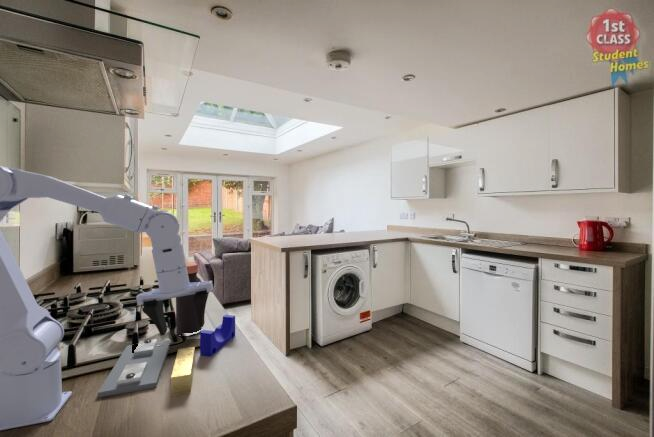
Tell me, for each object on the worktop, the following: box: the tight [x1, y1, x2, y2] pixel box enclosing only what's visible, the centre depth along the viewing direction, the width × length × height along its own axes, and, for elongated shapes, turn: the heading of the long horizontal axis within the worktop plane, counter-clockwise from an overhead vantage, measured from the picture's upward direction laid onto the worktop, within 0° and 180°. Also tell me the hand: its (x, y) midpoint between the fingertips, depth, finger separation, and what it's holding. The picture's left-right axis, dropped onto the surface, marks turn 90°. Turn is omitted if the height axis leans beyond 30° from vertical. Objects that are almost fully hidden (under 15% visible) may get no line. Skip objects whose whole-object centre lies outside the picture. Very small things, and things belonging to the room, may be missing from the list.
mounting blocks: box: [117, 338, 158, 386], centre depth 68 cm, size 4×18×1 cm, turn 20°
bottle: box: [175, 262, 203, 336], centre depth 86 cm, size 7×7×20 cm
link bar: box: [170, 346, 196, 397], centre depth 64 cm, size 4×12×4 cm, turn 20°
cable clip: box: [199, 314, 236, 357], centre depth 79 cm, size 12×4×6 cm, turn 169°
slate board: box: [97, 339, 172, 398], centre depth 68 cm, size 10×20×1 cm, turn 20°
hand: (183, 329), depth 64 cm, fingers open, 7 cm apart
